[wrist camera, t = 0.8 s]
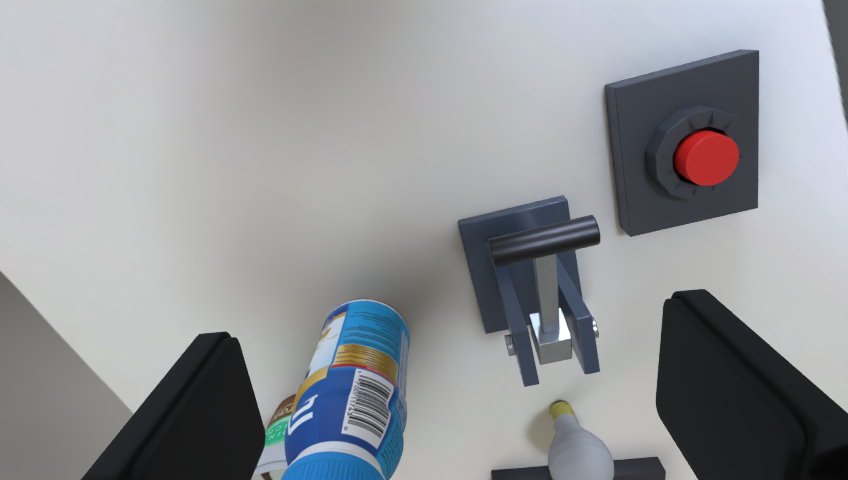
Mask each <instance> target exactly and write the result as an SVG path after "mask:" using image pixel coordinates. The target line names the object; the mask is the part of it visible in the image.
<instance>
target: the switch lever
mask: <svg viewBox="0 0 848 480" xmlns="http://www.w3.org/2000/svg"><path fill="white" fill-rule="evenodd" d="M599 243H600V231H599V227H598V224H597V222H596V219H595V218H594V216H593V215H589V216H585V217H581V218H576V219H572V220H568V221H564V222H559V223H555V224H551V225H546V226H542V227H538V228H534V229H529V230H525V231H521V232H517V233H512V234H508V235H504V236H499V237H495V238H491V239H488V244H489V248H490V253H491V257H492V261H493V265H494V267H495V268H497V267H501V266H505V265H510V264H514V263H519V262H523V261H527V260H532V259H533V267H534V276H535V285H536V294H537V303H538V312H539V313H534V314H530V315H529V320H530V327H531V334H532V338H533V342H534V345H535V349H536V352H537V356H538V359H539V363H540V365H543V364H547V363H552V362H557V361H562V360H567V359H572V337H571V334H570V331H569V328H568V326H567V323H566V320H565V317H564V314H563V311H562V309H561V308H559V301H558V283H557V264H556V254H558V253H563V252H567V251H571V250H576V249H580V248H585V247H589V246H593V245H598V244H599Z"/></svg>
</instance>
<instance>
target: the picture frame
mask: <svg viewBox="0 0 848 480" xmlns="http://www.w3.org/2000/svg"><path fill="white" fill-rule="evenodd" d="M613 462H614V477H613V480H665V474H666V471H665V470H664V468H663V466H662V464H661V462H660V460H659V459H658V457H652V458H640V459H628V460H616V461H613ZM491 472H492V480H553V479H552V476H551V473H550V470H549V467H548V466H544V467H531V468H519V469H507V470H495V471H491Z"/></svg>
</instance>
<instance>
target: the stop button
mask: <svg viewBox="0 0 848 480" xmlns="http://www.w3.org/2000/svg"><path fill="white" fill-rule="evenodd" d="M738 160H739V150H738V147H737V145H736V143H735V142H734V141H733V140H732V139H731V138H729V137H727V136H724V135H722V134H719V133H716V132H713V131H708V130H703V131H698V132H695V133H693V134H691V135H689V136H688V137H686V138H685V139H684V140H683V141H682V142H681V143H680V145H679V146H678V148H677V150H676V153H675V167H676V169H677V171H678V172H679V173H680V174H681V175H682V176H683V177H685V178H687V179H689V180H691V181H692V182H694V183H696V184H698V185H702V186H710V185H715V184H718V183H720V182H722V181H724V180H725V179H726V178H728V177H729V176H730V175H731V174H732V172H733V171H734V170H735V168H736V166H737V163H738Z"/></svg>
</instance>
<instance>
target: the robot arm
mask: <svg viewBox="0 0 848 480" xmlns="http://www.w3.org/2000/svg"><path fill="white" fill-rule="evenodd" d="M656 408H657V412H658V414H659V417H660V419H661V420H662V422H663V424H664V425H665V427H666V428H667V430H668V432H669V433H670V435H671V437H672V438H673V440H674V441H675V443H676V445H677V446H678V448H679V449H680V451H681V453H682V454H683V456H684V457H685V459H686V461H687V462H688V464H689V465H690V467H691V469H692V470H693V472H694V473H695V475H696V477H697V478H698V480H848V413H847V412H846V411H844V410H843V409H842V408H841V407H840V406H839V405H837V404H836V403H835V402H834V401H833V400H832V399H831V398H829V397H828V396H827V395H826V394H825V393H824V392H823V391H821V390H820V389H819V388H818V387H817V386H816V385H815V384H813V383H812V382H811V381H810V380H809V379H808V378H807V377H805V376H804V375H803V374H802V373H801V372H800V371H799V370H797V369H796V368H795V367H794V366H793V365H792V364H790V363H789V362H788V361H787V360H786V359H785V358H784V357H782V356H781V355H780V354H779V353H778V352H777V351H776V350H774V349H773V348H772V347H771V346H770V345H769V344H768V343H766V342H765V341H764V340H763V339H762V338H761V337H760V336H758V335H757V334H756V333H755V332H754V331H753V330H751V329H750V328H749V327H748V326H747V325H746V324H745V323H743V322H742V321H741V320H740V319H739V318H738V317H737V316H735V315H734V314H733V313H732V312H731V311H730V310H729V309H727V308H726V307H725V306H724V305H723V304H722V303H721V302H719V301H718V300H717V299H716V298H715V297H714V296H713V295H711V294H710V293H709V292H708V291H706V290H705V289H699V290H687V291H676V292H674V293H673V295H672V297H671V299H666V300H665V302H664V306H663V318H662V330H661V342H660V354H659V366H658V378H657V391H656ZM265 440H266V435H265V429H264V426H263V422H262V419H261V415H260V412H259V408H258V405H257V402H256V398H255V395H254V391H253V388H252V384H251V381H250V377H249V374H248V371H247V367H246V364H245V360H244V357H243V353H242V350H241V346H240V343H239V341H238V339H237V338H235V337H232V338H231V336H230V334H229V333H228V332H216V333H205V334H199V335H198V336H197V337H196V338H195V339H194V341H193V342H192V343H191V344H190V346H189V347H188V348H187V349H186V351H185V352H184V353H183V354H182V355H181V357H180V358H179V359H178V360H177V362H176V363H175V364H174V365H173V367H172V368H171V369H170V370H169V372H168V373H167V374H166V375H165V376H164V378H163V379H162V380H161V381H160V383H159V384H158V385H157V386H156V388H155V389H154V390H153V391H152V392H151V394H150V395H149V396H148V397H147V399H146V400H145V401H144V402H143V404H142V405H141V406H140V407H139V409H138V410H137V411H136V412H135V413H134V415H133V416H132V417H131V418H130V420H129V421H128V422H127V423H126V425H125V426H124V427H123V429H122V430H121V431H120V432H119V433H118V435H117V436H116V437H115V438H114V439H113V441H112V442H111V443H110V445H109V446H108V447H107V448H106V449H105V451H104V452H103V453H102V454H101V456H100V457H99V458H98V459H97V460H96V462H95V463H94V464H93V465H92V467H91V468H90V469H89V470H88V472H87V473H86V474H85V475H84V477H83V478H82V479H81V480H251V479H252V476H253V474H254V471H255V469H256V467H257V464H258V462H259V459H260V457H261V455H262V452H263V450H264V447H265Z"/></svg>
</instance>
